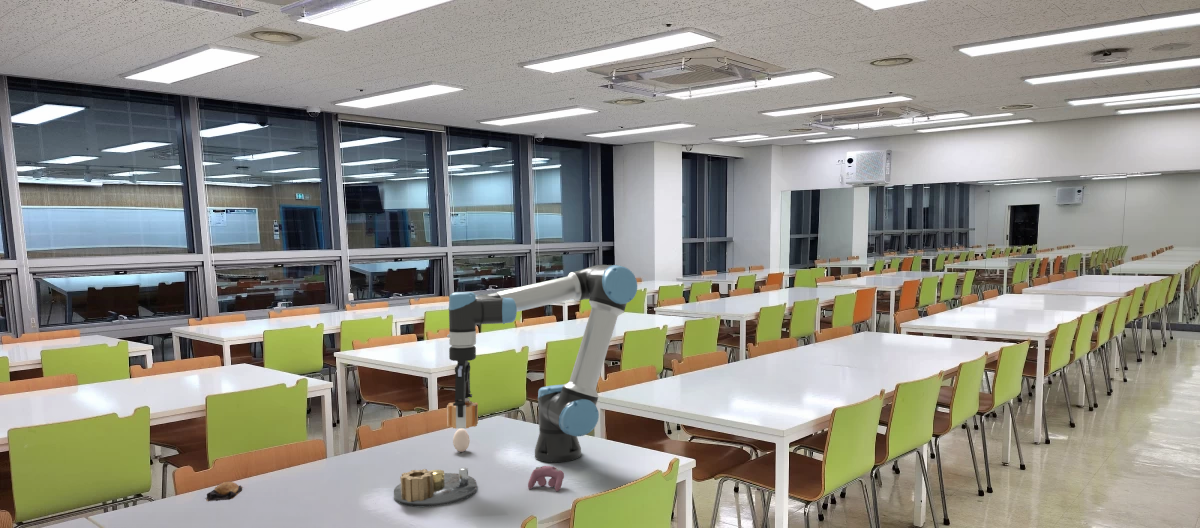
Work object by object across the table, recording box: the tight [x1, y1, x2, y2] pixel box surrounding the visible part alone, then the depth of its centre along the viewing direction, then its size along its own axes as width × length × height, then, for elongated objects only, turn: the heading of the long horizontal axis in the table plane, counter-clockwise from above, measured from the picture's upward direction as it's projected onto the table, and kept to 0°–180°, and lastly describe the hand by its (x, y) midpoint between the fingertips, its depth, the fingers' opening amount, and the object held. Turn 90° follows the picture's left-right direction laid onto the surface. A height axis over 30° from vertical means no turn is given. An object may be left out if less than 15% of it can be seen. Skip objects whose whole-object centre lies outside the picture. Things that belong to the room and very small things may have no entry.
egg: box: [452, 428, 471, 453], centre depth 245 cm, size 6×6×8 cm
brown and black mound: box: [206, 481, 244, 502], centre depth 211 cm, size 11×8×4 cm
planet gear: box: [446, 400, 479, 430], centre depth 210 cm, size 8×8×6 cm
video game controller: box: [527, 465, 565, 492], centre depth 208 cm, size 10×5×7 cm, turn 71°
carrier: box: [393, 467, 478, 508], centre depth 207 cm, size 23×23×8 cm
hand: (463, 424), depth 210 cm, fingers closed on planet gear, 8 cm apart
